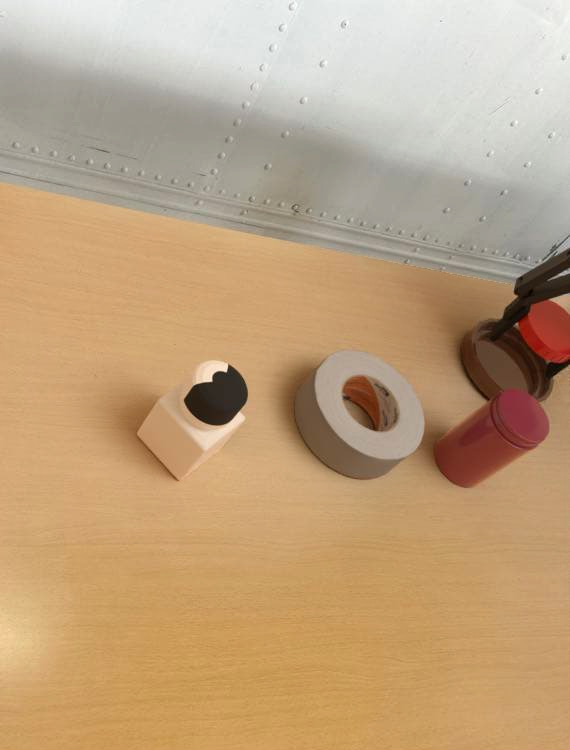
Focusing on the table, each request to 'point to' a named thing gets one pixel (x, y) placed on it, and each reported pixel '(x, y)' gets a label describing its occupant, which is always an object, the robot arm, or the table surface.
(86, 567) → the table surface
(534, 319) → the lid
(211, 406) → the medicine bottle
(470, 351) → the dish
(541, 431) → the jam jar
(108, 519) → the table surface
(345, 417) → the tape roll
